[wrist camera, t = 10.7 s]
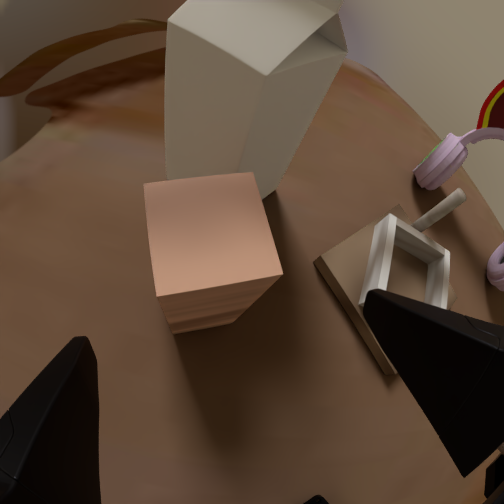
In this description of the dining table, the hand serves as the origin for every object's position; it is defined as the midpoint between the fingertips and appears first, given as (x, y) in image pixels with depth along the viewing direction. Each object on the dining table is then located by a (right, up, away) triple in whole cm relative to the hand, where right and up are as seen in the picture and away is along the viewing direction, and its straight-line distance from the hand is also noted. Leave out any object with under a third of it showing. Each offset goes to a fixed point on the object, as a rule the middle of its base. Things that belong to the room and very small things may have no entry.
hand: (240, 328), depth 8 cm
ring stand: (+14, -1, +17) cm, 22 cm away
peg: (-4, -1, +13) cm, 13 cm away
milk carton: (-2, +8, +17) cm, 19 cm away
